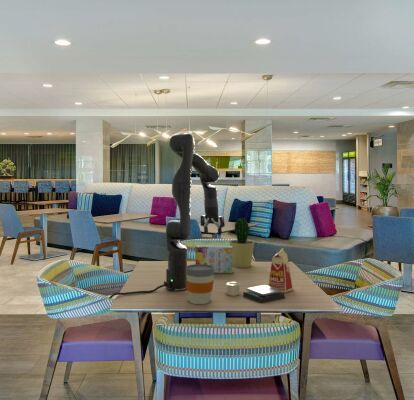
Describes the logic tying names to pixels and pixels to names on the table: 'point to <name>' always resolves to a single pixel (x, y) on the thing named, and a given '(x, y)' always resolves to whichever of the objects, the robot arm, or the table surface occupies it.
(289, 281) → the milk carton
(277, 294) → the scale
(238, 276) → the table surface
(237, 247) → the potted cactus
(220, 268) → the snack box
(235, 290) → the white cup
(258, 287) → the grey square plate
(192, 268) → the reusable coffee cup
